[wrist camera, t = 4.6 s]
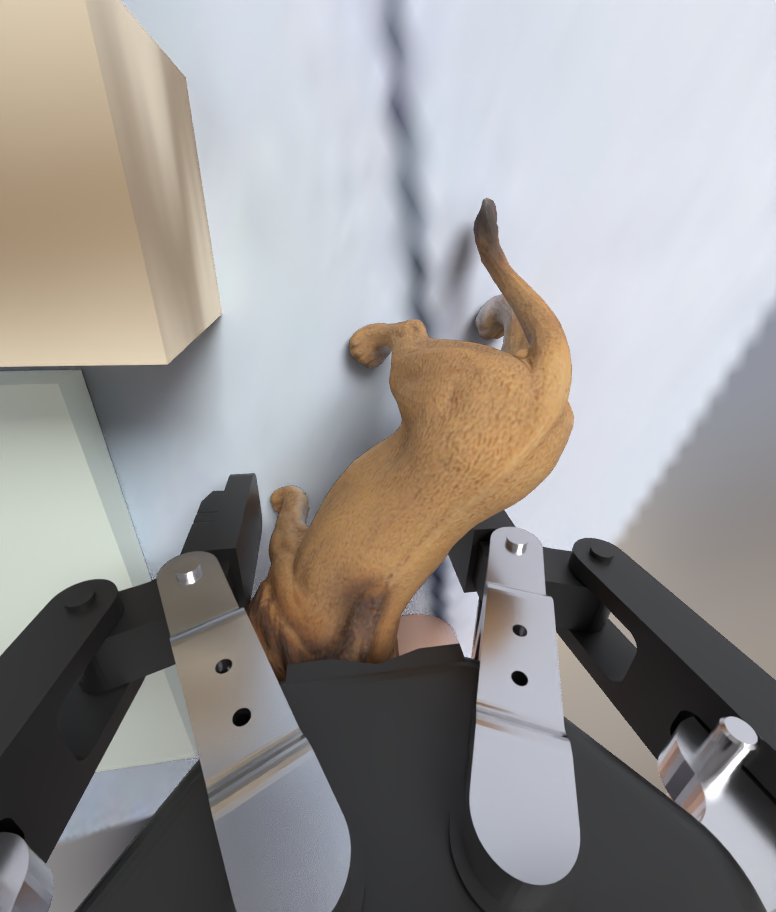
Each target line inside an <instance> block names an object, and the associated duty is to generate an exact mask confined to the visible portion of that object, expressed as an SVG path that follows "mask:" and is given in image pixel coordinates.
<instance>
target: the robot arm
mask: <svg viewBox="0 0 776 912" xmlns="http://www.w3.org/2000/svg"><path fill="white" fill-rule="evenodd" d="M261 533H262V514H261V507H260V500H259V493H258V486H257V479H256V475H255V474H254V473H252V474H233V475H230V476H229V478H228V481H227V484H226V488H225V491H213V492H211V493H210V494H209V495H208V496H207V497H206V498H205V499H204V500H203V501H202V502H201V504H200V507H199V509H198V512H197V515H196V517H195V519H194V524H192V527H191V529H190V532H189V534H188V537H187V539H186V542H185V544H184V547H183V549H182V552H181V554H180V555H179V556H176V557H174V558H173V559H171V560H169V561H168V562H167V563H166V564H164V565H163V566H162V567H161V569H160V570H159V572H158V574H157V578H156V579H155V580H152V581H150V582H147V583H144V584H141V585H138V586H135V587H131V588H128V589H125V590H121V591H118V589H117V587H116V585H115V584H114V583H113V582H111V581H109V580H106V579H92V580H87V581H83V582H80V583H77V584H75V585H72V586H70V587H68V588H66V589H64V590H63V591H61V592H60V593H58V594H57V595H56V596H55V597H53V598H52V599H51V600H50V601H49V602H48V604H47V605H46V606H45V607H44V608H43V609H42V610H41V611H40V612H39V613H38V615H37V616H36V617H35V618H34V619H33V620H32V621H31V622H30V623H29V625H28V626H27V627H26V628H25V629H24V630H23V631H22V632H21V633H20V634H19V636H18V637H17V638H16V639H15V640H14V641H13V642H12V643H11V644H10V646H9V647H8V648H7V649H6V650H5V651H4V652H3V653H2V654H1V656H0V912H48V911H49V908H50V905H51V901H52V897H53V890H54V880H53V876H52V872H51V871H50V869H49V867H48V866H47V865H46V862H47V860H48V859H49V857H50V855H51V853H52V851H53V849H54V847H55V846H56V844H57V842H58V840H59V838H60V836H61V834H62V833H63V831H64V829H65V827H66V825H67V823H68V821H69V819H70V818H71V816H72V814H73V812H74V810H75V808H76V806H77V805H78V803H79V801H80V799H81V797H82V795H83V793H84V791H85V790H86V788H87V786H88V784H89V782H90V780H91V778H92V777H93V775H94V773H95V771H96V769H97V767H98V765H99V763H100V762H101V760H102V758H103V756H104V754H105V752H106V750H107V749H108V747H109V745H110V743H111V741H112V739H113V737H114V735H115V734H116V732H117V730H118V728H119V726H120V724H121V722H122V720H123V719H124V717H125V715H126V713H127V711H128V709H129V707H130V706H131V704H132V702H133V700H134V698H135V696H136V694H137V692H138V691H139V689H140V687H141V685H142V683H143V681H144V679H145V677H146V676H147V675H150V674H152V673H155V672H157V671H160V670H163V669H165V668H168V667H170V666H173V665H175V664H176V667H177V671H178V675H179V679H180V683H181V687H182V691H183V695H184V699H185V703H186V707H187V711H188V715H189V719H190V723H191V727H192V731H193V735H194V739H195V743H196V747H197V751H198V755H199V760H198V761H197V762H196V764H195V765H194V766H193V767H192V768H191V770H190V771H189V772H188V773H187V775H186V776H185V777H184V778H183V779H182V781H181V782H180V783H179V784H178V786H177V787H176V788H175V789H174V790H173V792H172V793H171V794H170V795H169V797H168V798H167V799H166V800H165V801H164V803H163V804H162V805H161V806H160V808H159V809H158V810H157V811H156V812H155V814H154V815H153V816H152V817H151V819H150V820H149V821H148V822H147V823H146V825H145V826H144V827H143V828H142V830H141V831H140V832H139V833H138V835H137V836H136V837H135V838H134V839H133V841H132V842H131V843H130V844H129V846H128V847H127V848H126V849H125V850H124V852H123V853H122V854H121V855H120V857H119V858H118V859H117V860H116V861H115V863H114V864H113V865H112V866H111V867H110V869H109V870H108V871H107V872H106V874H105V875H104V876H103V877H102V879H101V880H100V881H99V882H98V883H97V885H96V886H95V887H94V888H93V890H92V891H91V892H90V893H89V894H88V896H87V897H86V898H85V899H84V901H83V902H82V903H81V904H80V905H79V907H78V908H77V909H76V910H75V912H776V680H775V679H773V678H772V677H771V676H770V675H769V674H767V673H766V672H765V671H764V670H763V669H762V668H760V667H759V666H758V665H757V664H756V663H754V662H753V661H752V660H751V659H750V658H749V657H747V656H746V655H745V654H744V653H742V652H741V651H740V650H739V649H738V648H737V647H735V646H734V645H733V644H732V643H731V642H730V641H728V640H727V639H726V638H725V637H724V636H722V635H721V634H720V633H719V632H718V631H716V630H715V629H714V628H713V627H712V626H711V625H709V624H708V623H707V622H706V621H705V620H704V619H702V618H701V617H700V616H699V615H698V614H696V613H695V612H694V611H693V610H692V609H690V608H689V607H688V606H687V605H686V604H685V603H683V602H682V601H681V600H680V599H679V598H677V597H676V596H675V595H674V594H673V593H672V592H670V591H669V590H668V589H667V588H665V587H664V586H663V585H662V584H661V583H659V582H658V581H657V580H656V579H655V578H654V577H653V576H651V575H650V574H649V573H648V572H647V571H645V570H644V569H643V568H642V567H641V566H640V565H638V564H637V563H636V562H634V560H632V559H631V558H630V557H629V556H628V555H626V554H625V553H624V552H622V550H620V549H619V548H618V547H616V546H615V545H613V544H611V543H609V542H606V541H603V540H600V539H595V538H583V539H580V540H578V541H576V542H575V544H574V546H573V549H572V551H565V550H558V549H551V548H546V547H542V544H541V542H540V540H539V539H538V538H537V537H536V536H535V535H533V534H532V533H530V532H528V531H526V530H524V529H521V528H517V527H515V525H514V524H513V522H512V521H511V519H510V518H509V517H508V515H507V514H506V512H505V511H504V510H503V511H501V512H499V513H497V514H495V515H493V516H491V517H490V518H488V519H486V520H484V521H482V522H480V523H479V524H477V525H476V526H474V527H473V528H472V529H471V530H469V531H468V532H467V533H466V534H465V535H464V536H463V537H462V538H461V539H460V540H459V541H458V542H457V543H456V544H455V545H454V546H453V547H452V548H451V550H450V552H449V553H448V555H449V558H450V560H451V562H452V565H453V567H454V570H455V572H456V574H457V577H458V579H459V582H460V584H461V587H462V589H463V591H464V593H466V592H476V591H477V593H478V596H479V601H478V606H477V614H476V622H475V630H474V639H473V647H472V656H471V658H467V657H464V655H463V652H462V649H461V647H460V644H459V643H458V644H449V645H441V646H433V647H425V648H418V649H416V650H413V651H411V652H408V653H405V654H403V655H400V656H398V657H395V658H393V659H390V660H387V661H385V662H382V663H379V664H371V663H362V662H353V661H345V660H336V659H327V660H319V661H311V662H302V663H294V664H287V674H286V680H283V681H280V682H278V681H277V678H276V676H275V674H274V672H273V670H272V668H271V665H270V663H269V661H268V659H267V657H266V655H265V652H264V650H263V648H262V646H261V644H260V641H259V639H258V637H257V635H256V633H255V631H254V628H253V626H252V624H251V622H250V620H249V618H248V615H247V613H246V612H247V609H248V606H249V604H250V600H251V594H252V588H253V582H254V576H255V569H256V563H257V557H258V551H259V545H260V539H261ZM610 612H612V613H613V615H614V616H615V617H616V618H617V619H618V620H619V621H620V622H621V623H622V624H623V625H624V626H625V627H626V628H627V629H628V630H629V631H630V632H631V634H632V635H633V637H634V639H635V641H636V645H637V648H636V647H635V646H634V645H633V644H632V643H631V642H630V641H629V640H628V639H627V638H626V637H625V636H624V635H623V634H622V632H621V631H620V630H619V629H618V628H617V627H616V626H615V625H614V624H613V623H612V622H611V621H610V620H609V619H608V617H609V614H610ZM556 632H557V633H558V635H559V636H560V637H561V638H562V640H563V641H564V642H565V644H566V645H567V646H568V647H569V649H570V650H571V651H572V652H573V654H574V655H575V656H576V657H577V659H578V660H579V661H580V663H581V664H582V665H583V666H584V668H585V669H586V670H587V671H588V673H589V674H590V675H591V677H592V678H593V679H594V680H595V682H596V683H597V684H598V685H599V687H600V688H601V689H602V690H603V692H604V693H605V694H606V695H607V697H608V698H609V699H610V701H611V702H612V703H613V704H614V706H615V707H616V708H617V710H618V711H619V712H620V713H621V715H622V716H623V717H624V718H625V720H626V721H627V722H628V723H629V725H630V726H631V727H632V728H633V730H634V731H635V732H636V733H637V735H638V736H639V737H640V739H641V740H642V741H643V743H644V744H645V745H646V746H647V748H648V749H649V750H650V751H651V753H652V754H653V755H654V756H655V758H656V759H657V760H658V771H659V775H660V778H661V780H662V783H663V785H664V787H665V788H666V790H667V795H665V794H664V793H663V792H661V791H660V790H659V789H657V788H656V787H655V786H653V785H652V784H651V783H650V782H648V781H647V780H646V779H644V778H643V777H642V776H640V775H639V774H638V773H637V772H635V771H634V770H633V769H631V768H630V767H629V766H628V765H626V764H625V763H624V762H622V761H621V760H620V759H618V758H617V757H616V756H614V755H613V754H612V753H611V752H609V751H608V750H606V749H605V748H604V747H603V746H602V745H600V744H599V743H597V742H596V741H595V740H594V739H592V738H591V737H590V736H589V735H587V734H586V733H585V732H583V731H582V730H581V729H579V728H578V727H577V726H576V725H574V724H573V723H572V722H570V721H569V720H568V719H567V718H565V717H564V716H563V705H562V694H561V683H560V672H559V660H558V648H557V637H556Z"/></svg>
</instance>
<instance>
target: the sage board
mask: <svg viewBox="0 0 776 912" xmlns="http://www.w3.org/2000/svg"><path fill="white" fill-rule="evenodd" d="M92 579H106V580H109V581H111V582H113V583H114V584H115V585H116V587H117V589H118V591H121V590H125V589H128V588H131V587H135V586H138V585H141V584H144V583H147V582H150V581H152V580H151V577H150V574H149V571H148V568H147V565H146V562H145V559H144V556H143V553H142V550H141V547H140V544H139V541H138V538H137V535H136V532H135V529H134V526H133V523H132V520H131V517H130V514H129V512H128V509H127V506H126V503H125V500H124V497H123V494H122V491H121V488H120V485H119V482H118V479H117V476H116V473H115V470H114V467H113V464H112V461H111V458H110V455H109V452H108V449H107V446H106V443H105V440H104V437H103V434H102V431H101V428H100V425H99V422H98V419H97V416H96V413H95V410H94V407H93V404H92V401H91V398H90V395H89V392H88V389H87V386H86V383H85V380H84V377H83V374H82V371H81V370H36V371H0V656H1V654H2V653H3V652H4V651H5V650H6V649H7V648H8V647H9V646H10V644H11V643H12V642H13V641H14V640H15V639H16V638H17V637H18V636H19V634H20V633H21V632H22V631H23V630H24V629H25V628H26V627H27V626H28V625H29V623H30V622H31V621H32V620H33V619H34V618H35V617H36V616H37V615H38V613H39V612H40V611H41V610H42V609H43V608H44V607H45V606H46V605H47V604H48V602H49V601H50V600H51V599H52V598H53V597H55V596H56V595H57V594H58V593H60V592H61V591H63V590H64V589H66V588H68V587H70V586H72V585H75V584H77V583H80V582H83V581H87V580H92ZM196 754H197V747H196V743H195V739H194V735H193V731H192V727H191V723H190V719H189V715H188V711H187V707H186V703H185V699H184V695H183V691H182V687H181V683H180V679H179V675H178V671H177V667H176V664H175V665H173V666H170V667H168V668H165V669H163V670H160V671H157V672H155V673H152V674H150V675H147V676H146V677H145V679H144V681H143V683H142V685H141V687H140V689H139V691H138V692H137V694H136V696H135V698H134V700H133V702H132V704H131V706H130V707H129V709H128V711H127V713H126V715H125V717H124V719H123V720H122V722H121V724H120V726H119V728H118V730H117V732H116V734H115V735H114V737H113V739H112V741H111V743H110V745H109V747H108V749H107V750H106V752H105V754H104V756H103V758H102V760H101V762H100V763H99V765H98V767H97V769H96V771H95V772H102V771H108V770H115V769H121V768H128V767H135V766H141V765H148V764H154V763H161V762H168V761H174V760H181V759H187V758H194V757H196Z"/></svg>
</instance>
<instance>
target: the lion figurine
mask: <svg viewBox="0 0 776 912" xmlns="http://www.w3.org/2000/svg"><path fill="white" fill-rule="evenodd" d="M474 234H475V242H476V245H477V248H478V251H479V254H480V257H481V262H482V263H483V264H484V266H485V267H486V269H487V270H488V272H489V274H490V275H491V277H492V279H493V281H494V282H495V283H496V285H497V286H498V288H499V289H500V291H501V292H502V294H501V295H498V296H495V297H493V298H491V299H490V300H489V301H487V302H486V303H485V304H484V305H483V306H482V308H481V309H480V311H479V313H478V315H477V317H476V326H477V328H478V331H479V334H480V336H481V337H482V338H484V339H486V340H487V339H498V338H500V337H502V336H504V339H503V345H502V348H501V351H500V350H498V349H495V348H493V347H490V346H486V345H482V344H478V343H474V342H469V341H457V340H445V339H433V338H430V337H429V336H428V335H427V332H426V327H425V325H424V324H423V323H422V322H421V321H419V320H407V321H404V322H399V323H393V324H386V323H376V324H370V325H367V326H365V327H363V328H361V329H359V330H358V331H356V332H355V333H354V334H353V336H352V337H351V338H350V340H349V349H350V354H351V356H352V357H353V358H354V359H355V360H356V361H357V362H358V363H360V364H362V365H364V366H366V367H368V368H374V367H377V366H378V365H380V364H381V363H382V362H383V361H384V360H385V359H386V358H387V356H388V355H389V354H390V353H391V352H392V358H391V371H390V378H389V384H390V389H391V392H392V394H393V396H394V398H395V399H396V401H397V404H398V407H399V411H400V414H401V417H402V423H401V426H400V427H399V428H398V429H397V431H396V432H395V433H394V434H393V435H391V436H390V437H388V438H386V439H384V440H383V441H381V442H380V443H378V444H376V445H375V446H373V447H372V448H371V449H369V450H368V451H367V452H365V453H364V454H363V455H361V456H360V457H358V458H357V459H356V460H355V461H354V462H352V463H351V464H350V466H349V467H348V468H347V469H346V470H345V471H344V473H343V474H342V475H341V476H340V477H339V479H338V480H337V481H336V482H335V484H334V485H333V486H332V488H331V489H330V491H329V492H328V494H327V496H326V497H325V499H324V501H323V502H322V504H321V506H320V508H319V510H318V512H317V514H316V515H315V517H314V519H313V521H312V523H311V525H310V526H309V527H308V526H307V525H306V517H307V514H308V512H309V505H308V504H309V501H308V497H307V495H306V493H304V492H303V491H302V490H301V489H300V488H298V487H296V486H286V487H281V488H279V489H277V490H276V491H274V493H273V494H272V496H271V503H272V505H273V508H274V510H275V511H277V512H278V514H279V515H278V518H277V522H276V525H275V529H274V531H273V534H272V536H271V540H270V544H269V556H270V560H271V566H270V570H269V573H268V577H267V578H266V579H265V580H264V581H263V582H261V583H260V586H259V588H258V590H257V592H256V594H255V596H254V597H253V599H252V600H251V602H250V604H249V606H248V609H247V612H246V613H247V615H248V618H249V620H250V622H251V624H252V626H253V628H254V631H255V633H256V635H257V637H258V639H259V641H260V644H261V646H262V648H263V650H264V652H265V655H266V657H267V659H268V661H269V663H270V665H271V668H272V670H273V672H274V674H275V676H276V678H277V681H278V682H280V681H283V680H286V674H287V664H294V663H302V662H311V661H319V660H327V659H336V660H345V661H353V662H362V663H371V664H379V663H382V662H385V661H387V660H390V659H393V658H395V657H398V656H399V651H398V639H397V633H398V628H399V623H400V619H401V614H402V612H403V611H404V609H405V607H406V606H407V604H408V603H409V601H410V600H411V598H412V597H413V596H414V594H415V593H416V591H417V590H418V589H419V588H420V587H421V586H422V585H423V584H424V582H425V581H426V580H427V579H428V578H429V577H430V576H431V574H432V573H433V572H434V571H435V570H436V569H437V568H438V567H439V565H440V564H441V563H442V562H443V561H444V559H445V558H446V556H447V555H448V553H449V552H450V550H451V548H452V547H453V546H454V545H455V544H456V543H457V542H458V541H459V540H460V539H461V538H462V537H463V536H464V535H465V534H466V533H467V532H468V531H469V530H471V529H472V528H473V527H474V526H476V525H477V524H479V523H480V522H482V521H484V520H486V519H488V518H490V517H491V516H493V515H495V514H497V513H499V512H501V511H503V510H505V509H506V508H508V507H510V506H512V505H514V504H516V503H517V502H519V501H520V500H522V499H523V498H524V497H526V496H527V495H528V494H529V493H530V492H532V491H533V490H534V489H535V488H536V487H537V486H538V485H539V484H540V483H541V482H542V481H543V480H544V479H545V478H546V477H547V476H548V475H549V474H550V473H551V471H552V470H553V468H554V467H555V466H556V464H557V462H558V460H559V458H560V456H561V454H562V452H563V450H564V448H565V446H566V444H567V442H568V439H569V436H570V433H571V430H572V428H573V420H574V416H573V412H572V409H571V407H570V404H569V402H568V396H569V390H570V385H571V376H572V365H571V357H570V350H569V346H568V343H567V340H566V336H565V334H564V331H563V329H562V326H561V324H560V322H559V320H558V319H557V317H556V316H555V314H554V313H553V312H552V310H551V309H550V308H549V306H548V305H547V304H546V303H545V302H544V300H543V299H542V298H541V297H540V296H539V295H538V294H537V293H536V292H535V291H534V290H533V289H532V288H531V287H530V286H529V285H528V284H527V283H526V282H525V281H524V280H523V279H522V278H521V277H520V276H519V275H518V274H517V273H516V272H515V271H514V270H513V269H512V268H511V266H510V265H509V263H508V261H507V259H506V257H505V255H504V253H503V251H502V249H501V247H500V245H499V239H498V226H497V212H496V206H495V203H494V201H493V200H491V199H489V198H485V199H484V200H483V202H482V206H481V209H480V211H479V213H478V215H477V217H476V220H475V222H474Z"/></svg>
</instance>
